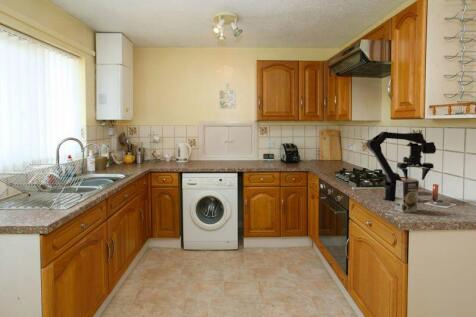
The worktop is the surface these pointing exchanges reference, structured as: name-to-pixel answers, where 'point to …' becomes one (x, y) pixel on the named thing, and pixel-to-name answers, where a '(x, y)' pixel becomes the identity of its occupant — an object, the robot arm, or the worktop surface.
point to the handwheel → (435, 197)
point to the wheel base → (440, 205)
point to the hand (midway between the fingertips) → (414, 180)
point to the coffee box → (406, 195)
